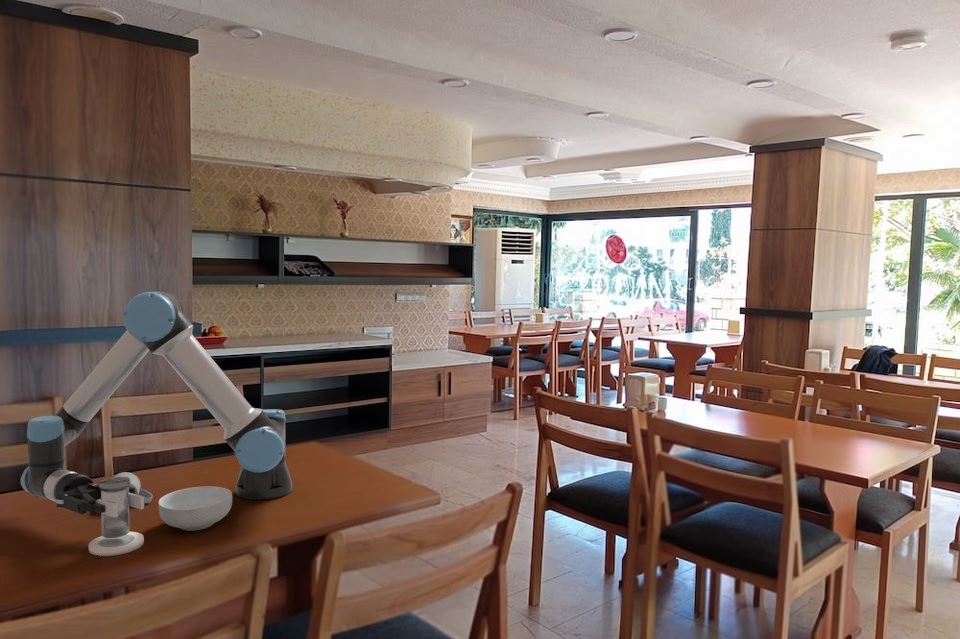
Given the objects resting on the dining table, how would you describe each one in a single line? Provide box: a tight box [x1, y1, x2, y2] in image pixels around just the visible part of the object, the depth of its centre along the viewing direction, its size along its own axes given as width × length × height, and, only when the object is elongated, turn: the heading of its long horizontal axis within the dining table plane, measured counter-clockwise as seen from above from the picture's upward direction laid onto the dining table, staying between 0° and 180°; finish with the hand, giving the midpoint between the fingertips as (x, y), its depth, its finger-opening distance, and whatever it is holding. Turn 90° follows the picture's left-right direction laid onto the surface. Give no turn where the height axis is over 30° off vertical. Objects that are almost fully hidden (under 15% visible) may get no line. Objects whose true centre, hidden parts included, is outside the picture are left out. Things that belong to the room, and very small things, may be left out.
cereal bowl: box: [157, 485, 233, 532], centre depth 172 cm, size 17×17×7 cm
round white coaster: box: [88, 531, 145, 557], centre depth 159 cm, size 11×11×1 cm
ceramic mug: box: [113, 471, 154, 504], centre depth 186 cm, size 11×8×8 cm
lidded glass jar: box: [98, 476, 131, 538], centre depth 158 cm, size 6×6×12 cm
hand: (129, 507), depth 155 cm, fingers closed on lidded glass jar, 5 cm apart
